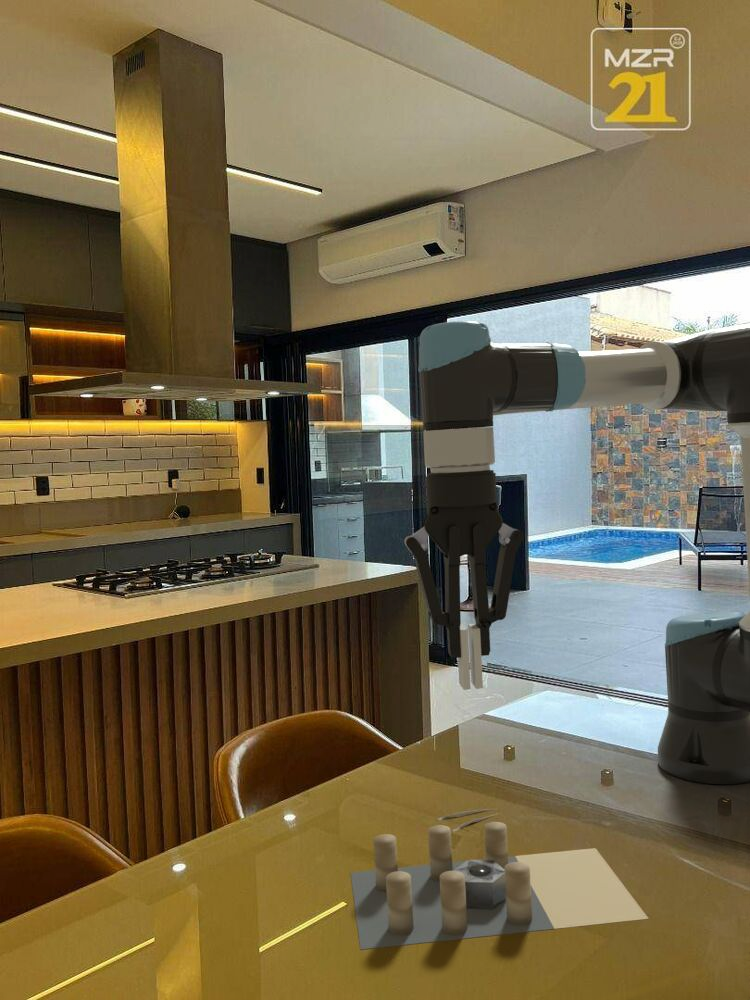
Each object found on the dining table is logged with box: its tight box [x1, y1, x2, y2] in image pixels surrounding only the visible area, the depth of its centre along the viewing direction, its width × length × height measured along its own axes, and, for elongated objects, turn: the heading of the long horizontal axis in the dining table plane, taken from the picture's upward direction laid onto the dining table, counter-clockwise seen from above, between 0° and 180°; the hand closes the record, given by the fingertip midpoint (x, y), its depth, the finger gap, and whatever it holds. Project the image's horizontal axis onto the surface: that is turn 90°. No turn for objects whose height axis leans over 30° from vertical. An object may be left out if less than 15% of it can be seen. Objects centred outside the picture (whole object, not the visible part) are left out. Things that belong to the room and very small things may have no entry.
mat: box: [349, 847, 649, 951], centre depth 96 cm, size 30×16×1 cm, turn 95°
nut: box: [454, 859, 506, 910], centre depth 96 cm, size 5×6×3 cm
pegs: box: [372, 821, 532, 935], centre depth 95 cm, size 16×14×6 cm
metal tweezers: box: [435, 808, 500, 833], centre depth 118 cm, size 17×5×2 cm, turn 116°
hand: (470, 685), depth 94 cm, fingers closed
